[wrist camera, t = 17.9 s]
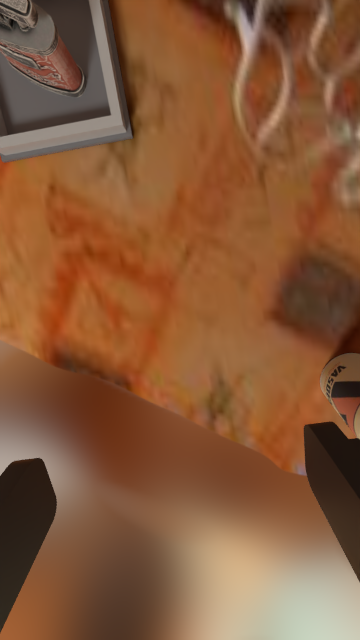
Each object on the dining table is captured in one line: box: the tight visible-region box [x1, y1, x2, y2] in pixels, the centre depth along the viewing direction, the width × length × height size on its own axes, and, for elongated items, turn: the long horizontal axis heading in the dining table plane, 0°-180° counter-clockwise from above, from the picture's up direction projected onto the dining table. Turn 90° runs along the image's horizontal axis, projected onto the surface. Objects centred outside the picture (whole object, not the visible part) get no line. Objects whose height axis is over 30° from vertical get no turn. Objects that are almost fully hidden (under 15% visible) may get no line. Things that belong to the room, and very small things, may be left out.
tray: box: [0, 0, 133, 162], centre depth 28 cm, size 15×15×2 cm
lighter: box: [0, 0, 87, 97], centre depth 24 cm, size 8×3×10 cm, turn 68°
